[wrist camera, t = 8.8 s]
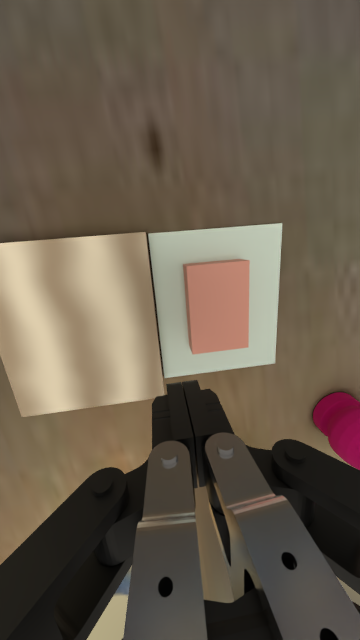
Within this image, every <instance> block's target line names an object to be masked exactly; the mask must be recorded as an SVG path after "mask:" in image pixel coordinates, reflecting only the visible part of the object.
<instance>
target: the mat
mask: <svg viewBox="0 0 360 640" xmlns="http://www.w3.org/2000/svg"><path fill="white" fill-rule="evenodd" d="M148 236H149V245H150V254H151V263H152V272H153V281H154V290H155V298H156V307H157V316H158V325H159V334H160V343H161V352H162V360H163V369H164V378H169V377H177V376H184V375H191V374H199V373H206V372H214V371H221V370H229V369H236V368H244V367H251V366H259V365H266V364H274V363H275V352H276V333H277V314H278V295H279V276H280V257H281V238H282V223H278V224H265V225H253V226H240V227H227V228H214V229H202V230H189V231H176V232H163V233H150V234H148ZM232 259H244V260H250V264H249V346H248V348H240V349H232V350H225V351H217V352H209V353H201V354H192V351H191V349H190V346H189V339H188V325H187V312H186V298H185V285H184V271H183V264H189V263H200V262H211V261H222V260H232Z"/></svg>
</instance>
